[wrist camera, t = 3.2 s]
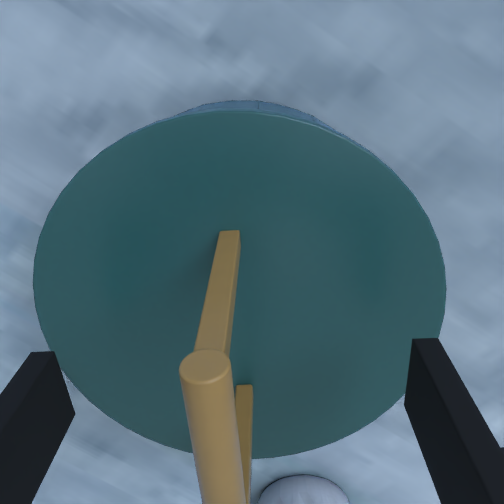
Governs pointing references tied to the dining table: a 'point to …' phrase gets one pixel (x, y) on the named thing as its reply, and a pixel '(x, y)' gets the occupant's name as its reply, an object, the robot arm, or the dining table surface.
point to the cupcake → (303, 491)
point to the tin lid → (238, 287)
